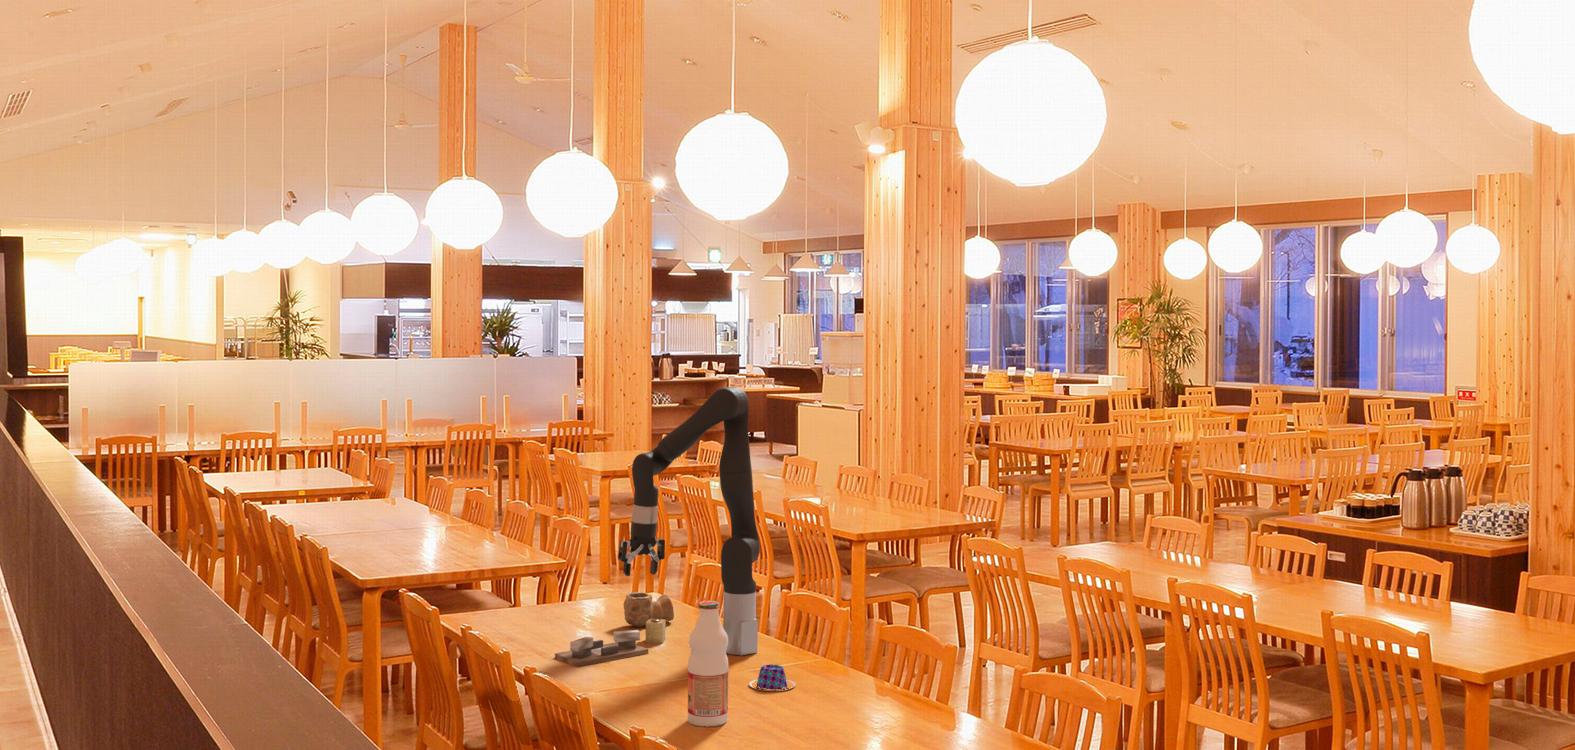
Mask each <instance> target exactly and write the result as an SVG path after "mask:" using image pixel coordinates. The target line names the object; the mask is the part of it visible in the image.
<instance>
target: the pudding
mask: <svg viewBox="0 0 1575 750" xmlns="http://www.w3.org/2000/svg"><path fill="white" fill-rule="evenodd" d="M755 681H757V684H756V685H757V686H759V687H760V688H766V689H782V688H783V687H787V688H788V684H787V681H789V682H791V683H793V685H794V686H793V687H791V688H789V689H786V688H783V689H785V690H784V691H787V690H790V689H792V688H794V687H795V686H796V683H795V682H794V681H792V680H790V679H787V677H786V672H785V668H784V666H782V665H779V664H773V663H770V664H764V665H763V666H761V667H760V669H759V673H758V676H757V678H756V679H753V680H751V681H749V682H748V685H749V687H751V688H753V689H755V690H759V691H762V690H761V689H760V688H759V689H757V688H758V687H757V686H756V687H757V688H754V687H753V686H752V683H754V682H755ZM783 689H782V690H776V691H775V692H780V691H783ZM763 691H764V692H765V691H766V692H772V690H765V689H763Z"/></svg>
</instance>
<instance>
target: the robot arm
mask: <svg viewBox="0 0 1575 750" xmlns="http://www.w3.org/2000/svg"><path fill="white" fill-rule="evenodd" d="M749 407H750V405H749V398H748V395H747V393H746V392H745V391H744V389H742V388H741V387H739V386H726V387H720V388H718V389H716V390H715V391H714V392H713V393H712V394H711V395H710V396H709V397H708V398H707V399H706V401H704V403H702V405H701V406H700V407H699V408H698V409H697V410H696V411H695V412H694V413H693V414H692V415H691V416H689V417H688V418H687V419H686V420H685V421H683V422H682V423H681V424H680V425H678V426H677V427H675V428H674V429H673V430H672V431H670V432H669V433H668V434H667V435H664V437H663V438H662V439H661V440H660V441H659V442H658V444H657V446H656V447H655V448H653V449H652V450H650V451H649V452H648V451H647V452H642V453H639V454H638V455H636V456H635V457H634V459H633V462H632V465H631V476H632V483H633V488H634V493H633V504H632V505H633V506H632V510H631V519H630V520H631V521H630V533H629V535H630V537H629V540H624V539H621V540H619V546H618V554H617V560H619V561H620V562H622V563H623V568H622V569H623V570H622V571H623V574H624V576H625V577H630V576H631V567H632V564H631V563H632V561H633V560H634V559H635V558H636V557H637V556H643V555H645V556H647V555H648V556H649V557H650V559H651V561H650V568H649V572H650V574H651V575H656V574H657V572H658V566H659V561H661V560H665V557H666V554H665V552H666V540H665V539H663V538H661V537H658V538H657V539H656V536H657V528H658V515H659V514H658V512H659V511H658V509H659V508H658V506H659V505H658V503H659V488H658V486H656V485H654V476H658V475H659V474H661V473H662V472H664V471H665V470H666V469H667V468H668V467H669V466H670V465H671V464H672V463H674V461H675V460H676V459H678V458H679V457H680V456H681V455H683V454H684V453H685V452H686V451H688V450H689V449H690V448H692V447H694V445H695V443H697V441H698V440H699V439H700V438H701V437H702V435H704V434H705V433H706V432H707V431H708V430H710V429H711V428H712V427H714V426H716V425H718V424H720V423H722V422H723V429H724V431H723V432H724V438H723V439H724V440H723V444H722V445H723V446H722V450H721V453H720V458H719V465H718V466H719V467H718V468H719V470H718V471H719V473H718V474H719V484H720V491H721V495H722V497H723V500H724V504H725V505H726V508H727V510H728V513H729V519H730V529H731V531H730V532H731V537H729V538H727V540H725V541H724V542H723V545H722V546H721V547H722V548H721V552H720V553H721V554H720V571H721V572H720V574H721V577H720V578H721V582H722V585H723V603H722V604H723V610H722V611H723V613H722V614H723V617H722V619H723V621H722V627H723V628H724V630H725V632H726V633H727V636H728V646H727V649H726V654H729V655H733V656H746V655H750V654H755V653H758V645H759V644H758V641H759V639H758V637H759V636H758V635H759V634H758V631H759V630H758V629H759V620H758V618H757V615H756V614H757V611H756V610H757V609H756V607H757V583H756V580H755V579H754V578H753V564H754V563H755V561H757V559H758V558H759V555H760V551H761V546H760V544H761V543H760V540H759V534H758V529H757V523H756V516H755V502H754V499H755V498H754V487H753V486H754V485H753V481H754V480H753V470H752V462H751V449H750V447H751V446H750V438H749V414H750V413H749V412H750V410H749V409H750V408H749ZM655 546H656V548H657V549H656V551H655V549H654V548H655ZM629 547H630V548H629ZM628 549H629V550H628Z"/></svg>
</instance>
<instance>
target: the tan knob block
mask: <svg viewBox="0 0 1575 750" xmlns="http://www.w3.org/2000/svg"><path fill="white" fill-rule="evenodd" d="M665 640H666V620H665V619H648V621H647V622H646V625H645V644H654V643H656V644H655V645H657V644H658V645H663V644H664V643H665Z"/></svg>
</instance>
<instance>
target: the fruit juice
mask: <svg viewBox="0 0 1575 750" xmlns="http://www.w3.org/2000/svg"><path fill="white" fill-rule="evenodd" d="M720 606H721V604H720V602H719V601H716V600H703V601H699V602H698V611H699V614H698V618H697V621H696V624H695V627H694V628H693V630H691V632H690V634H689V638H688V639H689V641H688V644H689V648H690V655H689V658H688V662H687V663H688V665H687V720H688V722H689V724H691V725H693V726H697V727H704V726H705V727H706V728H707V727H709V728H710V726H711V727H717V726H721V725H725V723H727V721H728V717H729V716H728V715H729V713H728V712H729V658H728V656H727V653H726V649H727V646H728V636H727V633H726V632H725V630H724V628H723V623H722V622H721V618H720V614H719V610H720ZM705 727H704V728H705Z"/></svg>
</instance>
